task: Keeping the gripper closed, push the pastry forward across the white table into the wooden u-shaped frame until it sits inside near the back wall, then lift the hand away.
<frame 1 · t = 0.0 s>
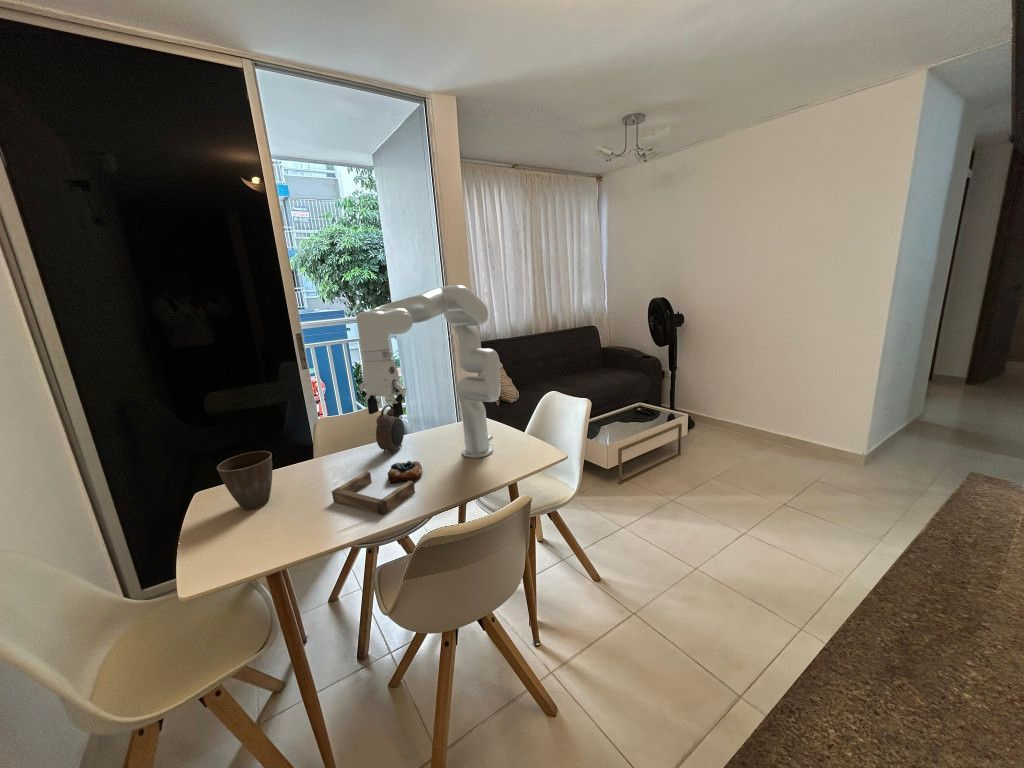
hand: (386, 414, 112), 31 cm above the table, fingers open, 9 cm apart
pastry: (406, 477, 142), on the table
plant pot: (256, 504, 130), on the table
alarm clock: (394, 450, 166), on the table
wooden u-shaped frame: (375, 496, 129), on the table
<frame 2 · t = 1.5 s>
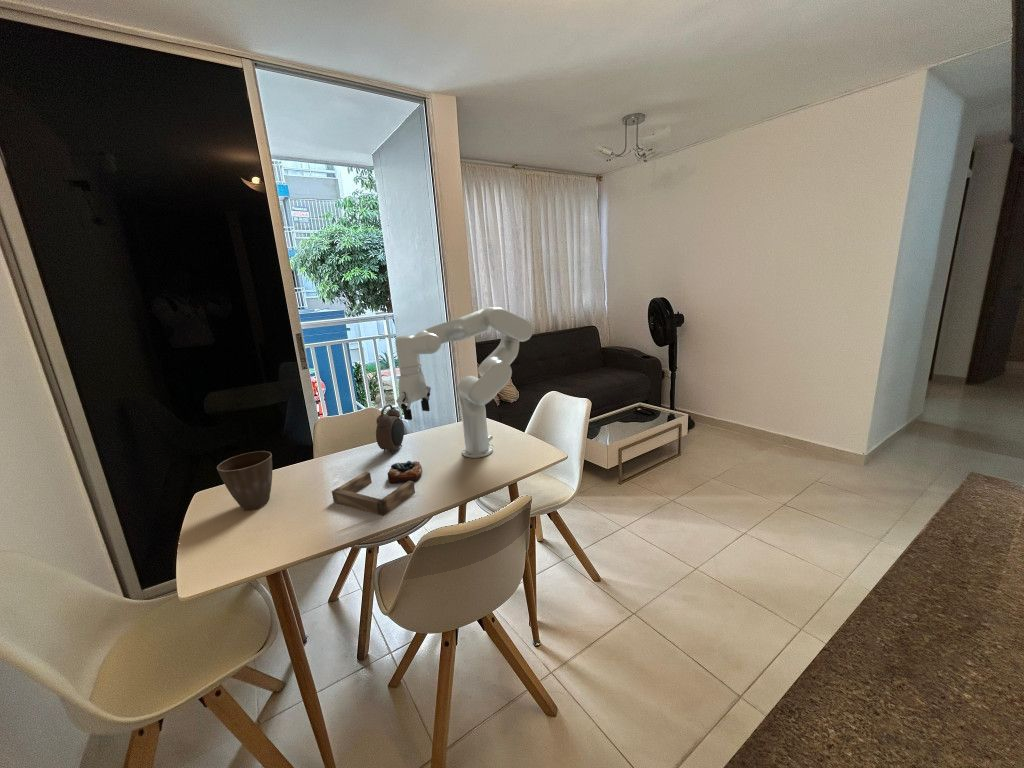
hand: (417, 415, 144), 21 cm above the table, fingers open, 9 cm apart
nothing on the table moved.
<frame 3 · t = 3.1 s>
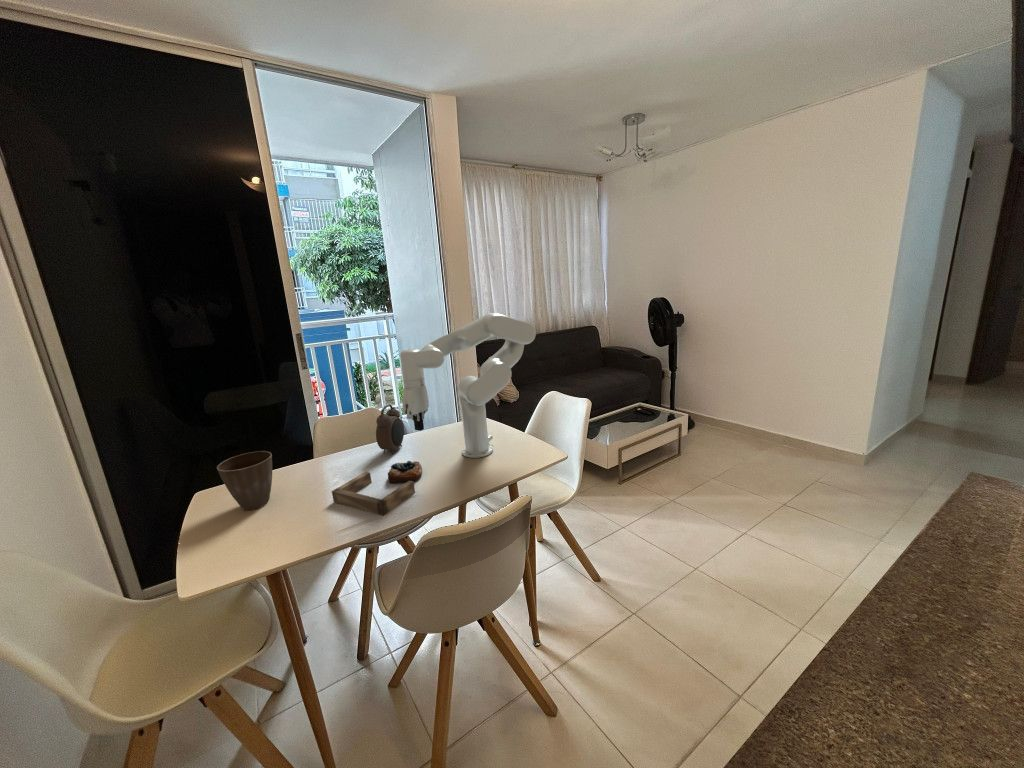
hand: (419, 429, 147), 14 cm above the table, fingers closed
nothing on the table moved.
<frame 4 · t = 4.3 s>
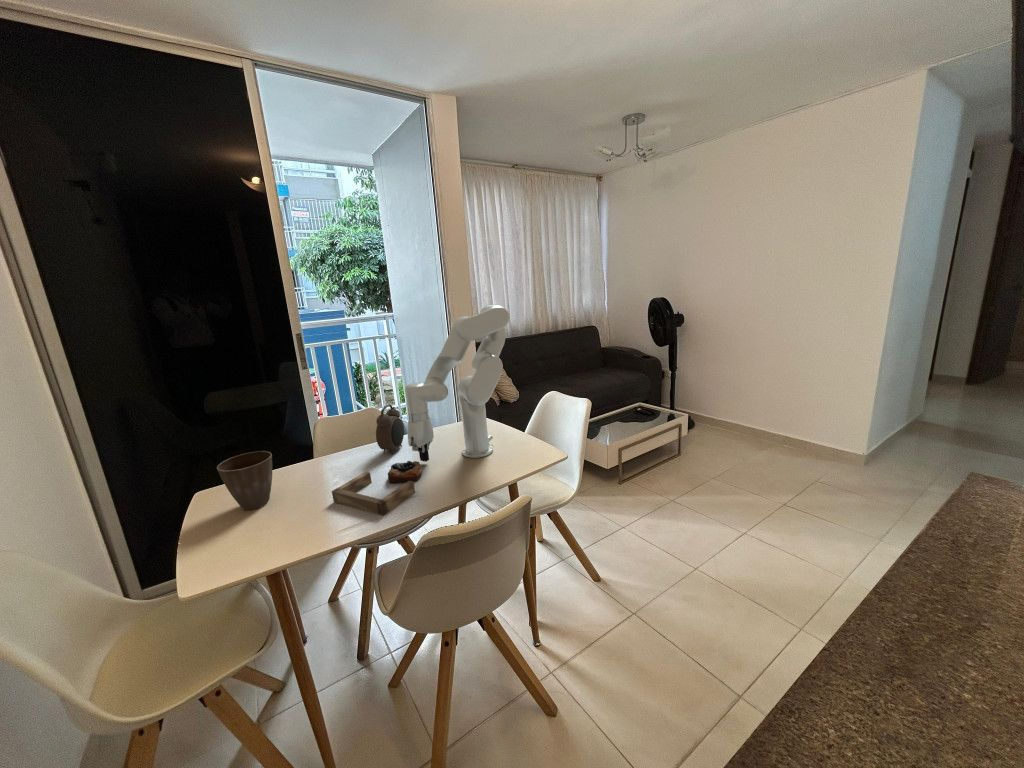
hand: (424, 460, 151), 1 cm above the table, fingers closed
nothing on the table moved.
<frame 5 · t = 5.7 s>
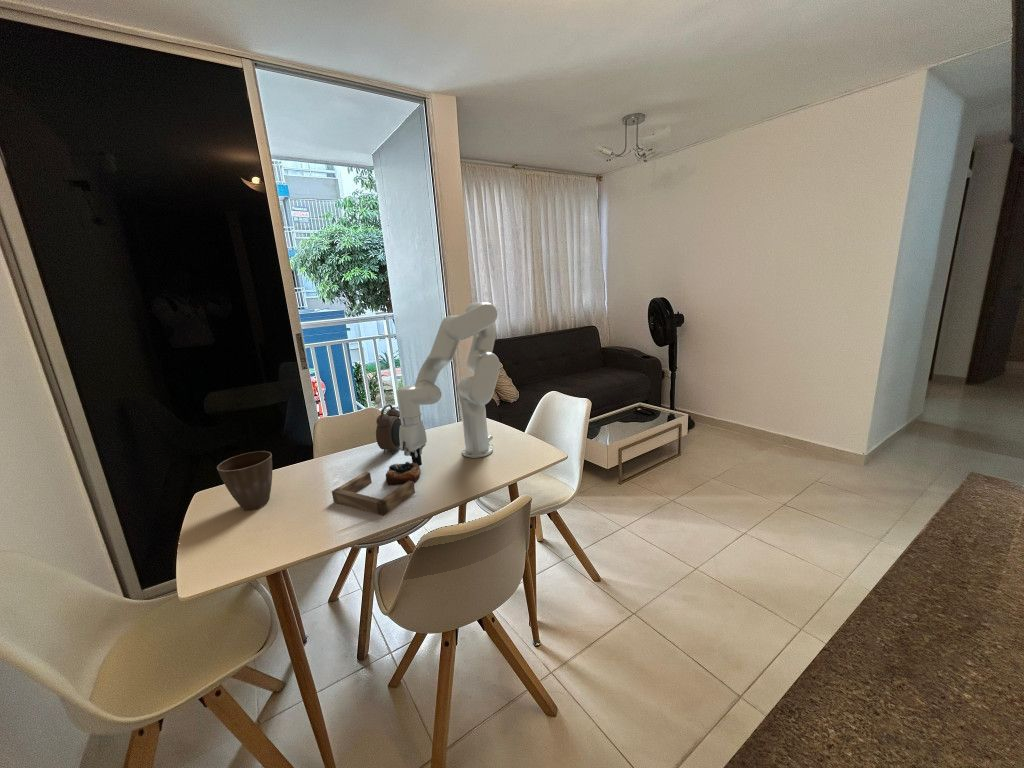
hand: (417, 465, 147), 1 cm above the table, fingers closed
pastry: (404, 478, 141), on the table, touching gripper
everything else where it was.
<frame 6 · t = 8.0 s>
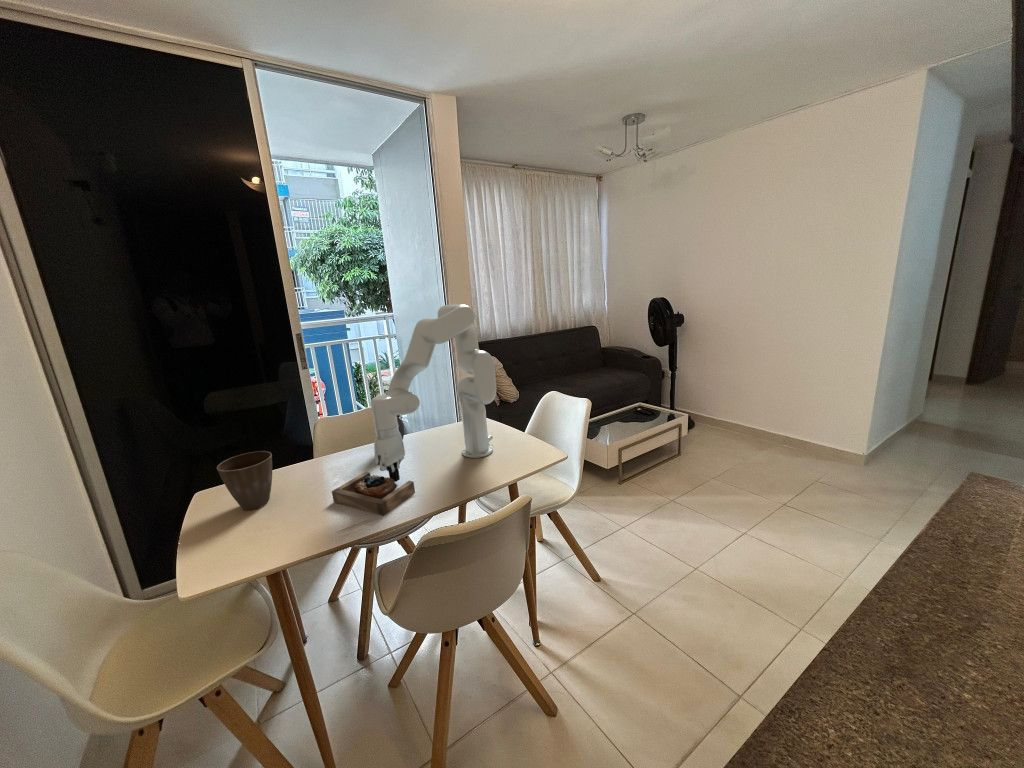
hand: (395, 480, 137), 1 cm above the table, fingers closed
pastry: (377, 493, 132), on the table, touching gripper
everything else where it was.
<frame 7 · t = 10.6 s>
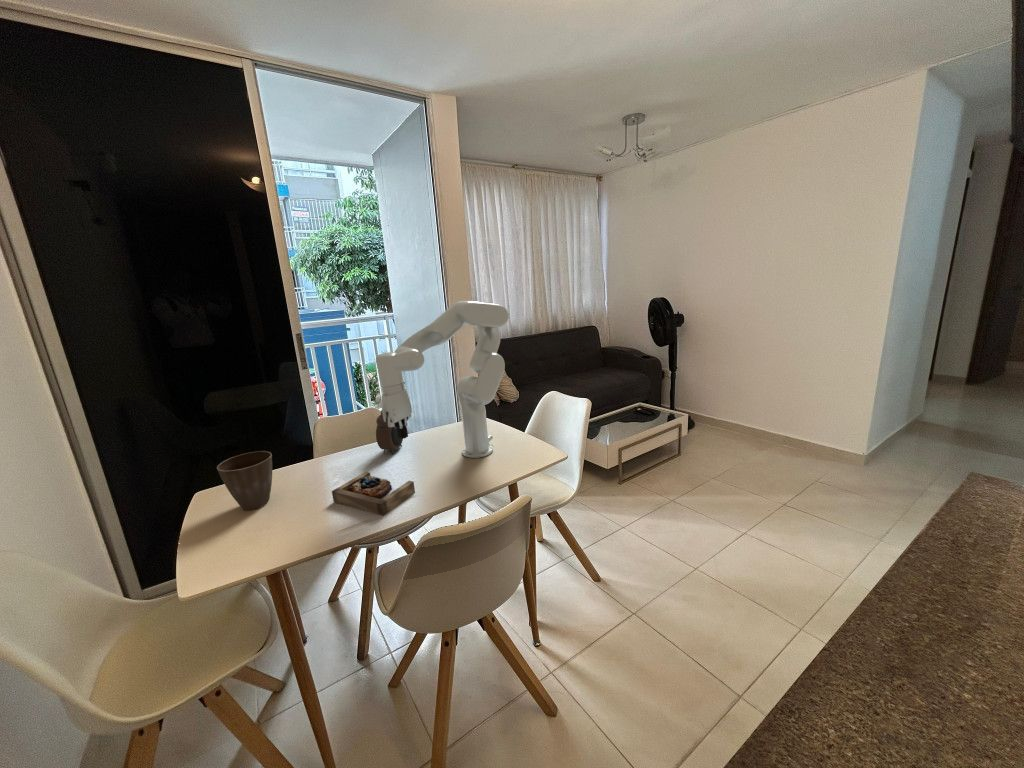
hand: (403, 437, 139), 15 cm above the table, fingers closed
pastry: (372, 494, 131), on the table
everything else where it was.
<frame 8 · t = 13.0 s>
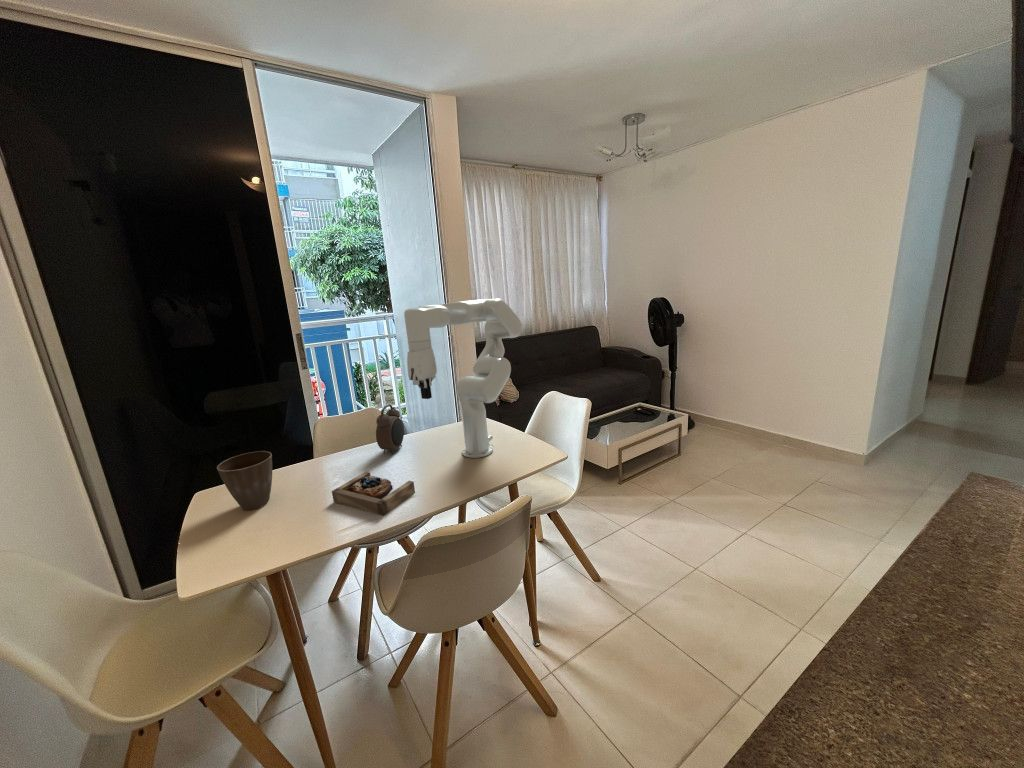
hand: (426, 398, 134), 29 cm above the table, fingers closed
nothing on the table moved.
at the end: pastry inside the target area on the wooden u-shaped frame (3.4 cm from its centre), point -0.5 cm above the wooden u-shaped frame's base; pastry moved 13.7 cm from its start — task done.
